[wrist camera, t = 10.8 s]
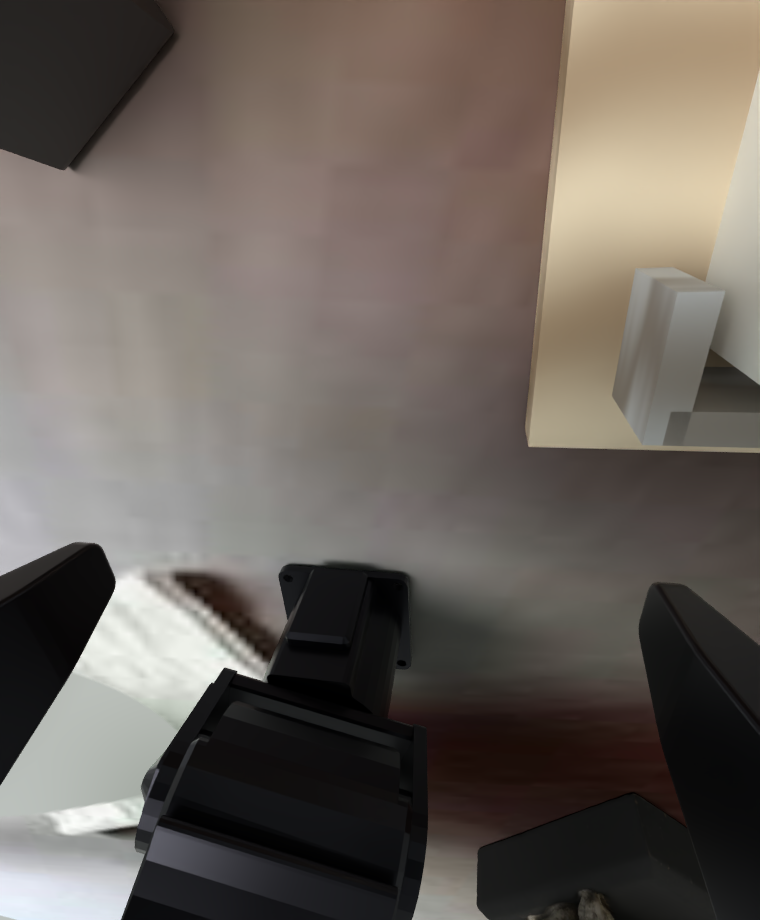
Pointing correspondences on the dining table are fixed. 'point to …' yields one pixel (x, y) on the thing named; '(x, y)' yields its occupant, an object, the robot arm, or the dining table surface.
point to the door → (740, 256)
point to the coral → (596, 869)
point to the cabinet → (642, 229)
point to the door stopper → (69, 69)
